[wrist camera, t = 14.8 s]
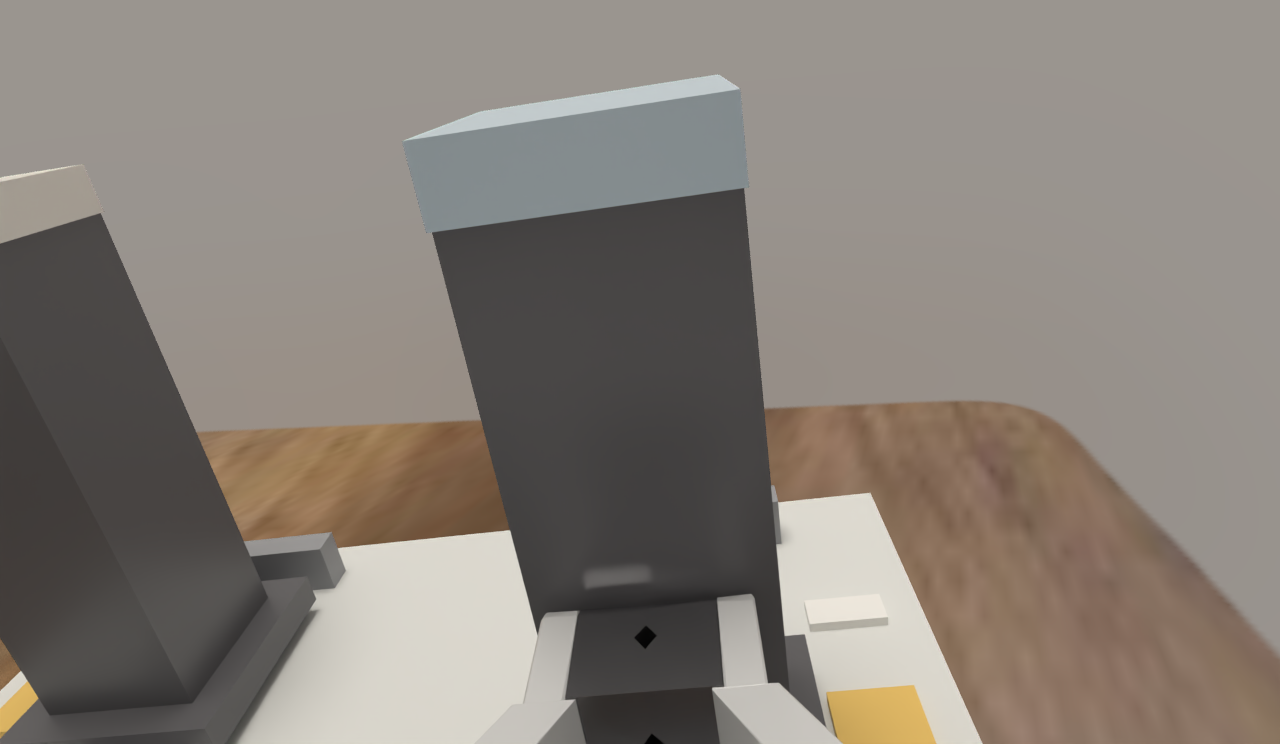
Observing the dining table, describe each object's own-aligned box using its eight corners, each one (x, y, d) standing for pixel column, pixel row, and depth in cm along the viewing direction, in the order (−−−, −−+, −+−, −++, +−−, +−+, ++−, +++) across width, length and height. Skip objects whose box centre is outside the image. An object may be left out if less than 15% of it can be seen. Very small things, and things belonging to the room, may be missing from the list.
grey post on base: (10, 771, 17) (-355, 243, 12) (150, 615, 21) (-73, 187, 17) (218, 754, 16) (-74, 199, 12) (315, 599, 21) (136, 154, 16)
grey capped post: (550, 920, 12) (311, 160, 7) (582, 681, 17) (447, 114, 12) (860, 903, 12) (822, 81, 7) (807, 662, 16) (761, 64, 12)
